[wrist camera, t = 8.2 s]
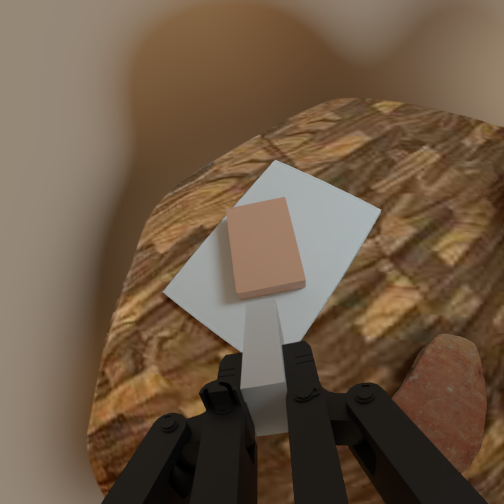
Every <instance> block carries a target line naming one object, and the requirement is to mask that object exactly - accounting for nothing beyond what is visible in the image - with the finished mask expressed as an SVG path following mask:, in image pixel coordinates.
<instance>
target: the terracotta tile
mask: <svg viewBox="0 0 504 504" xmlns="http://www.w3.org/2000/svg"><path fill="white" fill-rule="evenodd" d="M226 216H227V224H228V232H229V240H230V247H231V255H232V263H233V270H234V278H235V285H236V293H237V295H238V297H239V299H240V300H242V299H247V298H252V297H258V296H263V295H268V294H273V293H278V292H283V291H288V290H293V289H298V288H303V287H306V279H305V275H304V270H303V266H302V262H301V258H300V254H299V250H298V245H297V241H296V237H295V233H294V229H293V225H292V222H291V218H290V214H289V210H288V206H287V202H286V198H285V197H281V198H276V199H271V200H266V201H262V202H257V203H252V204H247V205H242V206H238V207H233V208H228V209H226Z"/></svg>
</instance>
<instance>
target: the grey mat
mask: <svg viewBox="0 0 504 504" xmlns="http://www.w3.org/2000/svg"><path fill="white" fill-rule="evenodd" d="M281 197H285V198H286V202H287V206H288V210H289V214H290V218H291V222H292V225H293V229H294V233H295V237H296V241H297V245H298V250H299V254H300V258H301V262H302V266H303V270H304V275H305V279H306V287H303V288H298V289H293V290H288V291H283V292H278V293H273V294H268V295H263V296H258V297H252V298H247V299H242V300H240V299H239V297H238V295H237V293H236V285H235V278H234V270H233V263H232V255H231V247H230V240H229V232H228V224H227V216H225V217H224V219H223V220H222V221H221V222H220V223H219V224H218V226H217V227H216V228H215V229H214V230H213V232H212V233H211V234H210V235H209V236H208V237H207V239H206V240H205V241H204V242H203V243H202V245H201V246H200V247H199V248H198V249H197V251H196V252H195V253H194V254H193V255H192V257H191V258H190V259H189V260H188V261H187V263H186V264H185V265H184V266H183V268H182V269H181V270H180V271H179V272H178V274H177V275H176V276H175V277H174V279H173V280H172V281H171V282H170V283H169V285H168V286H167V287H166V288H165V290H164V291H163V293H164V294H165V295H167V296H168V297H169V298H170V299H172V300H173V301H174V302H175V303H177V304H178V305H179V306H180V307H182V308H183V309H184V310H185V311H187V312H188V313H189V314H191V315H192V316H193V317H194V318H196V319H197V320H198V321H200V322H201V323H202V324H204V325H205V326H206V327H207V328H209V329H210V330H211V331H213V332H214V333H215V334H217V335H218V336H219V337H221V338H222V339H224V340H225V341H226V342H228V343H229V344H230V345H232V346H233V347H234V348H236V349H237V350H239V351H240V352H241V353H242V352H243V342H244V328H245V313H246V303H248V302H254V301H259V300H264V299H269V298H274V297H275V300H276V305H277V310H278V314H279V319H280V324H281V328H282V333H283V338H284V344H289V343H294V342H299V341H301V340H302V338H303V337H304V335H305V334H306V332H307V331H308V330H309V328H310V327H311V325H312V324H313V322H314V321H315V319H316V318H317V316H318V315H319V313H320V312H321V310H322V309H323V307H324V306H325V304H326V302H327V301H328V299H329V298H330V296H331V295H332V293H333V292H334V290H335V288H336V287H337V285H338V284H339V282H340V281H341V279H342V277H343V276H344V274H345V273H346V271H347V269H348V268H349V266H350V264H351V263H352V261H353V259H354V258H355V256H356V254H357V253H358V251H359V249H360V248H361V246H362V244H363V243H364V241H365V239H366V237H367V236H368V234H369V232H370V231H371V229H372V227H373V225H374V223H375V222H376V220H377V218H378V216H379V215H380V212H381V210H380V209H378V208H376V207H374V206H373V205H371V204H369V203H367V202H365V201H363V200H361V199H359V198H357V197H355V196H353V195H351V194H349V193H347V192H345V191H343V190H341V189H338V188H336V187H334V186H332V185H330V184H328V183H326V182H324V181H322V180H319V179H317V178H315V177H313V176H311V175H309V174H306V173H304V172H302V171H300V170H297V169H295V168H293V167H291V166H288V165H286V164H284V163H281V162H279V161H277V160H275V161H274V162H273V163H272V164H271V165H270V166H269V167H268V168H267V169H266V171H265V172H264V173H263V174H262V175H261V176H260V177H259V178H258V180H257V181H256V182H255V183H254V184H253V185H252V186H251V188H250V189H249V190H248V191H247V192H246V193H245V194H244V196H243V197H242V198H241V199H240V200H239V201H238V202H237V204H236V205H235V206H234V207H238V206H242V205H247V204H252V203H257V202H262V201H266V200H271V199H276V198H281Z"/></svg>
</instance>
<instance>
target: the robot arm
mask: <svg viewBox="0 0 504 504" xmlns="http://www.w3.org/2000/svg"><path fill="white" fill-rule="evenodd" d="M199 395H200V397H201V399H202V402H203V404H204V406H205V408H206V411H205V412H204V413H202V414H200V415H198V416H195V417H191V418H188V419H185V417H184V416H182V415H181V414H178V413H169V414H166V415H163V416H161V417H160V418H158V419H157V420H156V421H155V422H154V424H153V425H152V427H151V428H150V430H149V432H148V433H147V435H146V436H145V438H144V439H143V441H142V442H141V444H140V445H139V447H138V448H137V450H136V451H135V453H134V455H133V456H132V458H131V459H130V461H129V462H128V464H127V465H126V467H125V468H124V470H123V471H122V473H121V474H120V476H119V477H118V479H117V480H116V482H115V484H114V485H113V487H112V488H111V490H110V491H109V493H108V494H107V496H106V497H105V499H104V500H103V502H102V503H101V504H257V444H256V441H255V432H256V435H257V436H265V435H272V434H279V433H285V432H289V443H290V454H291V465H292V477H293V489H294V501H295V504H348V499H347V494H346V490H345V485H344V480H343V475H342V471H341V466H340V462H339V457H338V453H337V448H336V445H348V447H349V448H350V450H351V452H352V453H353V455H354V456H355V458H356V459H357V461H358V462H359V464H360V465H361V467H362V468H363V470H364V472H365V473H366V475H367V476H368V478H369V479H370V481H371V482H372V484H373V485H374V487H375V488H376V490H377V491H378V493H379V494H380V496H381V497H382V499H383V500H384V502H385V503H386V504H488V503H487V502H486V501H485V500H484V499H483V498H482V496H481V495H480V494H479V493H478V492H477V491H476V490H475V489H474V488H473V487H472V486H471V484H470V483H469V482H468V481H467V480H466V479H465V478H464V477H463V476H462V475H461V474H460V472H459V471H458V470H457V469H456V468H455V467H454V466H453V465H452V464H451V463H450V462H449V460H448V459H447V458H446V457H445V456H444V455H443V454H442V453H441V452H440V451H439V450H438V448H437V447H436V446H435V445H434V444H433V443H432V442H431V441H430V440H429V439H428V438H427V436H426V435H425V434H424V433H423V432H422V431H421V430H420V429H419V428H418V427H417V426H416V424H415V423H414V422H413V421H412V420H411V419H410V418H409V417H408V416H407V415H406V414H405V413H404V411H403V410H402V409H401V408H400V407H399V406H398V405H397V404H396V403H395V402H394V401H393V400H392V398H391V397H390V396H389V395H388V394H387V393H386V392H385V391H384V390H383V389H382V388H381V387H380V386H378V385H377V384H374V383H360V384H357V385H355V386H353V387H352V388H350V389H349V391H348V392H347V393H332V392H329V391H327V390H325V389H324V388H323V387H322V386H321V384H320V382H319V378H318V374H317V370H316V366H315V362H314V358H313V354H312V350H311V346H310V345H309V344H308V343H306V342H305V341H299V342H294V343H289V344H284V338H283V333H282V328H281V324H280V319H279V314H278V310H277V305H276V300H275V297H274V298H269V299H264V300H259V301H254V302H248V303H246V313H245V328H244V342H243V352H242V353H236V354H230V355H225V357H224V358H223V359H222V361H221V362H220V365H219V372H218V378H217V380H215V381H212V382H210V383H208V384H206V385H205V386H204V387H203V388H202V389H201V390H200V392H199Z"/></svg>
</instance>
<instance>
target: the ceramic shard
mask: <svg viewBox="0 0 504 504" xmlns="http://www.w3.org/2000/svg"><path fill="white" fill-rule="evenodd" d="M482 368H483V367H482V363H481V359H480V355H479V353H478V350H477V347H476V345H474V343H473V342H471V341H469V340H467V339H466V338H462V337H460V336H454V335H450V334H439V335H437V336H436V337H434V338H433V340H432V341H431V342H430V343H429V344H428V345H427V346H425V347H423V348H422V349H421V350H420V351H419V353H418V355H417V357H416V359H415V361H414V363H413V365H412V366H411V368H410V369H409V372H408V374H407V376H406V377H405V379H404V381H403V383H402V385H401V387H400V388H399V390H398V391H396V393H395V394H394V395H393V397H392V400H393V401H394V402H395V403H396V404H397V405H398V406H399V407H400V408H401V409H402V410H403V411H404V413H405V414H406V415H407V416H408V417H409V418H410V419H411V420H412V421H413V422H414V423H415V424H416V426H417V427H418V428H419V429H420V430H421V431H422V432H423V433H424V434H425V435H426V436H427V438H428V439H429V440H430V441H431V442H432V443H433V444H434V445H435V446H436V447H437V448H438V450H439V451H440V452H441V453H442V454H443V455H444V456H445V457H446V458H447V459H448V460H449V462H450V463H451V464H452V465H453V466H454V467H455V468H456V469H457V470H458V471H459V472H460V474H461V473H462V472H464V471H465V470H466V469H467V468H468V467H469V465H470V464H471V463H472V461H473V459H474V457H475V456H476V454H477V453H478V451H479V450H480V448H481V443H482V438H483V434H484V426H485V416H486V412H487V396H486V385H485V379H484V376H483V371H482Z"/></svg>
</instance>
